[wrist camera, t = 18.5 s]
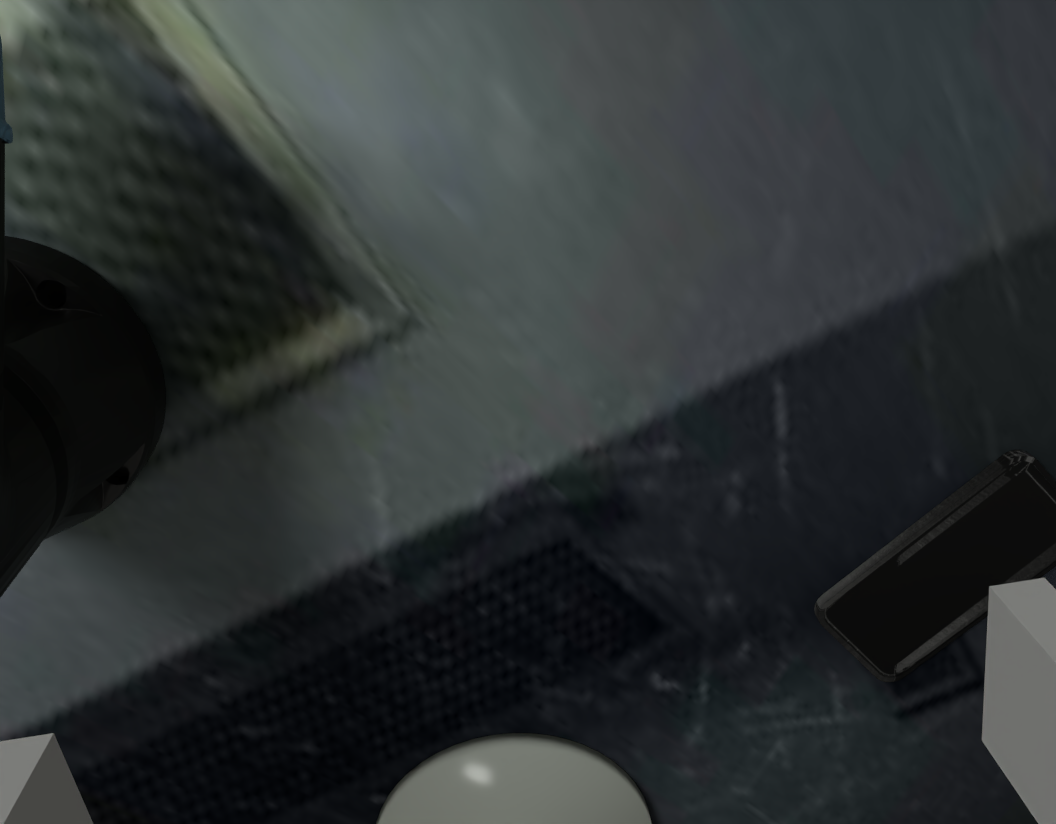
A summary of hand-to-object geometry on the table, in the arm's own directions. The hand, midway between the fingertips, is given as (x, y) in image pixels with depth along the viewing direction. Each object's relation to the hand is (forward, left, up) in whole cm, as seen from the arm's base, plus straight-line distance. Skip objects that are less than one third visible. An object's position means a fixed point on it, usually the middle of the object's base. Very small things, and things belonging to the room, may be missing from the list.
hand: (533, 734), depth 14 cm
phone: (+23, -25, -37) cm, 50 cm away
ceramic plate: (-5, -41, -37) cm, 55 cm away
